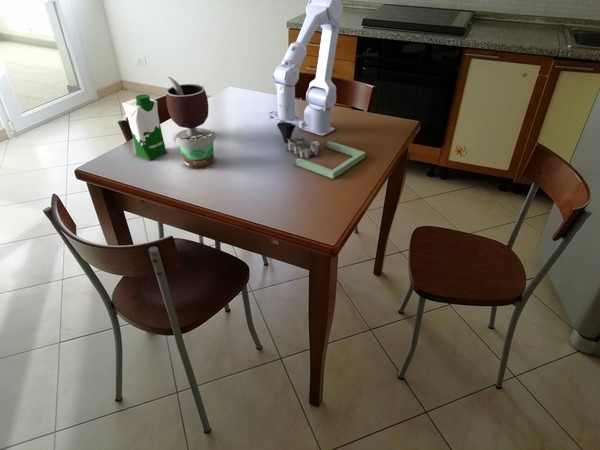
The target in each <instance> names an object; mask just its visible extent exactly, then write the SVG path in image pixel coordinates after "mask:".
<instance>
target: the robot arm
mask: <svg viewBox="0 0 600 450" xmlns="http://www.w3.org/2000/svg"><path fill="white" fill-rule="evenodd" d="M343 10H344V6H343V4H342V2H341V1H340V0H308V3H307V5H306V7H305V14H306V16H305V18H304V21H303V23H302V25H301V29H300V31H299V32H298V33H299V34H298V36H297V38H296V41H293V42H292V43H290V44H289V47H288V49H287V51H286V53H285V55H284V56H283V58H282V61H281V63H280V64H278V65H277V66H276V67H275V68H274V70H273V74H272V75H271V77H272V80H273V82H274V84H275V85H274V86H275V88H276V95H277V96H276V97H277V98H276V99H277V100H276V101H277V111H273V110H272V111H269V112H268V118H269V119H270V120H271V119H273V120H276V122H277V123H276V126H277V128H278V130H279V132H280V134H281V136H282V140H283V143H284V144H286V145H287V144H289V142H288V141H287V139H291V138H292V136H293V132H294V130H295V128H296V127H299V128H300V129H302V131H305V132H308V133H312V134H315V135H318V136H321V137H323V136H326V135H328V134H329V133H331V132H333V131H335V130H336V128H335V127H333V126H331V122H332V121H331V119H332V118H331V117H332V109H333V108H334V106H335V105H336V102H337V87H336V85H335V84H334V83H333V81H332V76H333V69H334V63H335V56H336V49H337V44H338V38H339V37H338V36H339V32H340V27H341V22H342V16H343ZM319 26H320V29H322V32H321V38H320V39H321V40H320V44H319V52H318V59H317V66H316V73H315V78H314V79H313V80H311V81H310V82H309V86H308V88H307V91H306V94H305V99H306V102H307V103H308V105H306V107H305V108H304V111H303V113H304V114H303V119H302V118H300V117H298V116H296V84H298V81H299V79H300V72H301V69H300V68H301V66H302V64H303V62H304V60H305V59H306V56H307V54H308V51H307V46H308V44H309V42H311V39H312V37H313V35H314V34H315V32H316V30H317V29H318V27H319Z"/></svg>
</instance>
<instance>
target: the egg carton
mask: <svg viewBox="0 0 600 450" xmlns="http://www.w3.org/2000/svg"><path fill="white" fill-rule="evenodd" d="M287 141H288V142H289V143H288V150H289V151H291V152H292V151H293V153H294V154H295V155H299V158H301V159H310V156H318V153H319V146H320V142H319V141H317V140H315V141H314V140H310V139H308V138H304V137H303V136H300V137H299V136H296V137H291V139H287Z"/></svg>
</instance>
